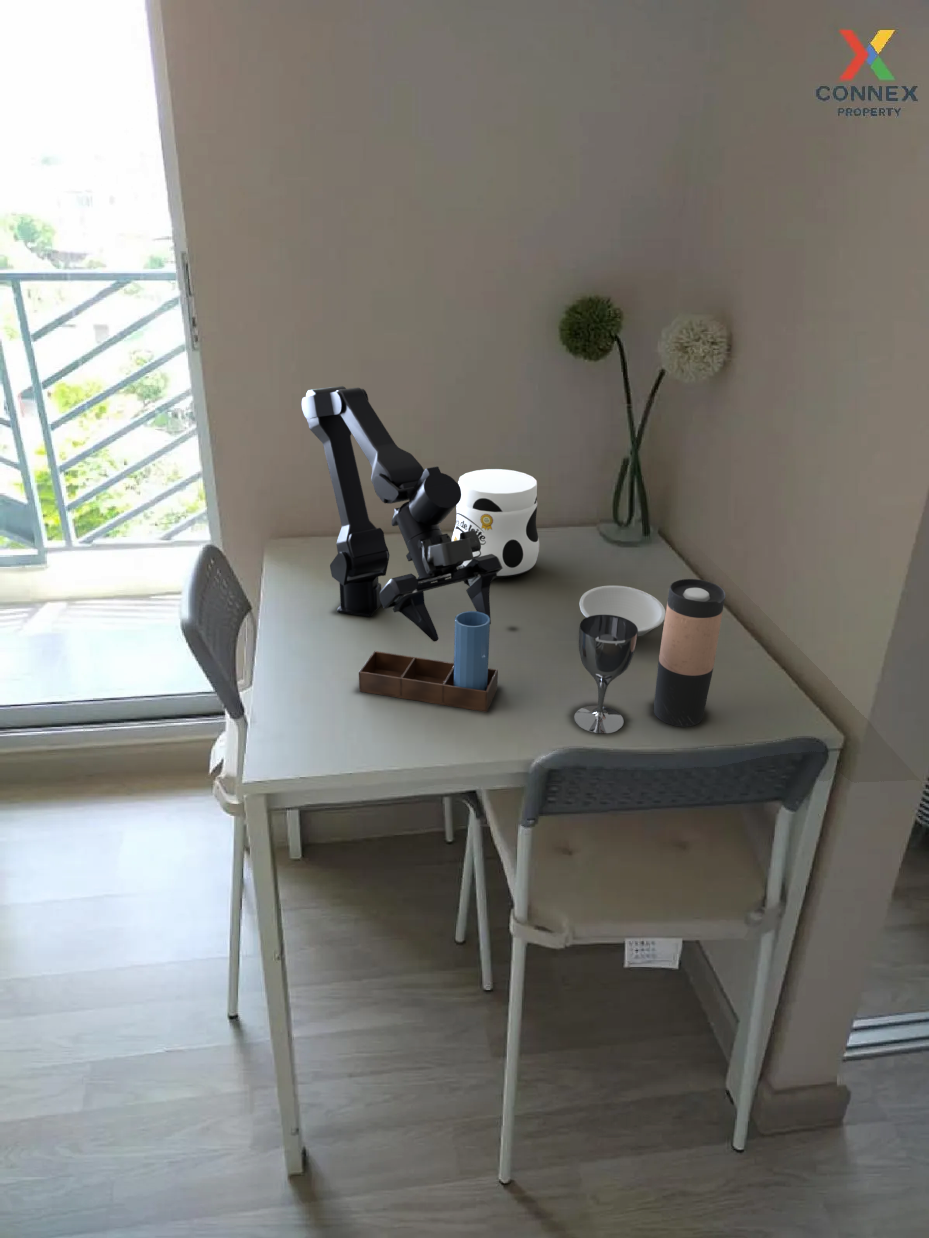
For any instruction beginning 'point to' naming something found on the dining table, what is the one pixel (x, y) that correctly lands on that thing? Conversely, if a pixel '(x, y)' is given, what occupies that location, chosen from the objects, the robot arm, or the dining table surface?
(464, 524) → the milk container
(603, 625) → the wine glass
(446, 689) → the caddy
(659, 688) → the travel mug
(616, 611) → the dish
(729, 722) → the dining table surface
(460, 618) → the tumbler
